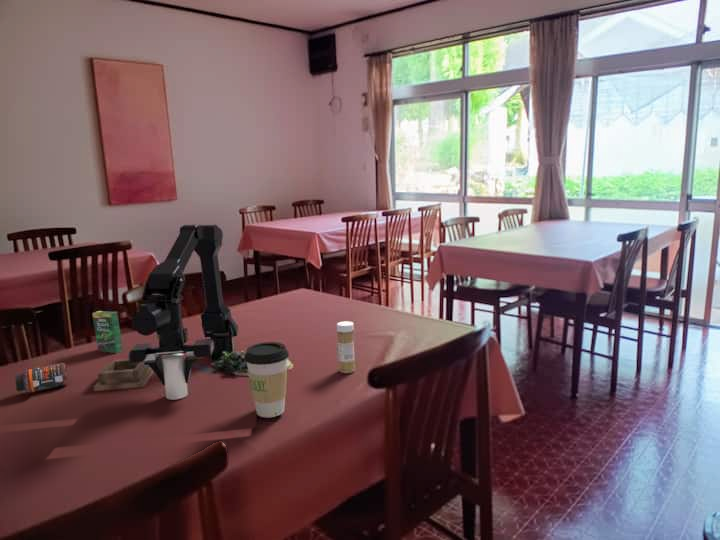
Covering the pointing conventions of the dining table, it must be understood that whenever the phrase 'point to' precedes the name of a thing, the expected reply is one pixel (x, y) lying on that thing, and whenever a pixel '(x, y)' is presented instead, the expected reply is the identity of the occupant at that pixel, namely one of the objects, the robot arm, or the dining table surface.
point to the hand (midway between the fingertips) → (175, 383)
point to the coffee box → (107, 331)
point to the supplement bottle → (42, 378)
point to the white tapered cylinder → (174, 376)
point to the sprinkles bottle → (346, 347)
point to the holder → (123, 375)
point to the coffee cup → (268, 377)
